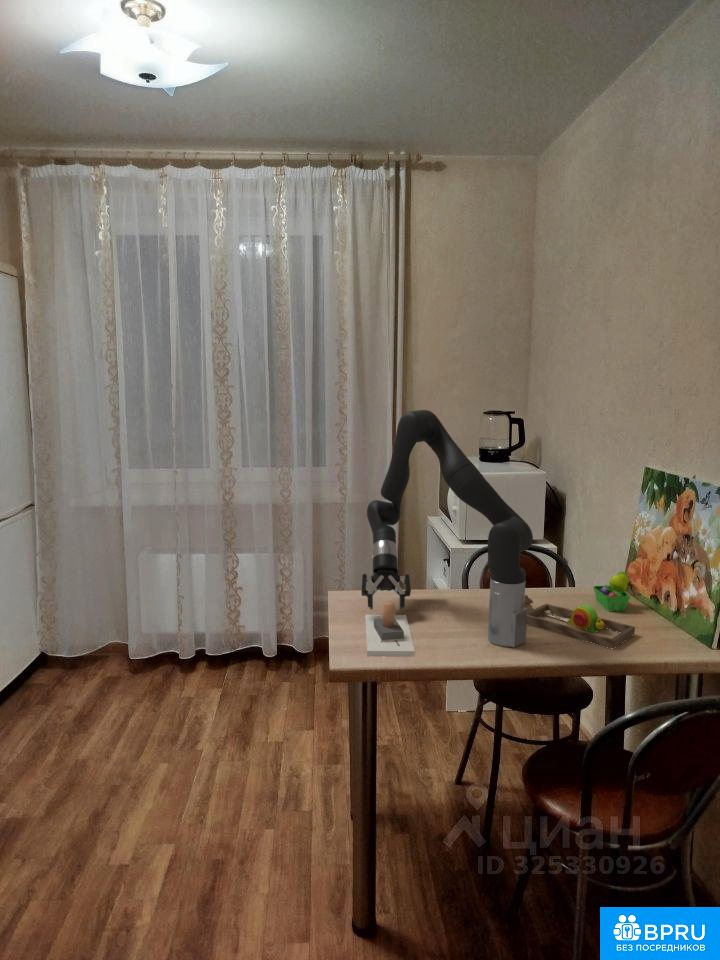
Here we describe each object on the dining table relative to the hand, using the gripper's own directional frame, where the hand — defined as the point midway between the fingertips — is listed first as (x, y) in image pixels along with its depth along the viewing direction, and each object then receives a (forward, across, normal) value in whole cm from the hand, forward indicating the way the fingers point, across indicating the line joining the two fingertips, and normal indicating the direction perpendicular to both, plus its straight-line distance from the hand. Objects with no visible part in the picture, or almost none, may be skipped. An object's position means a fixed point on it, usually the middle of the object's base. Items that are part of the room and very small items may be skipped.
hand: (386, 608), depth 186 cm
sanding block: (+9, 0, -3) cm, 10 cm away
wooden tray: (+5, +55, +3) cm, 55 cm away
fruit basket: (-9, +72, +16) cm, 75 cm away
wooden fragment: (-11, +43, +20) cm, 48 cm away
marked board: (+9, 0, -2) cm, 9 cm away
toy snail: (+2, +55, +6) cm, 55 cm away
